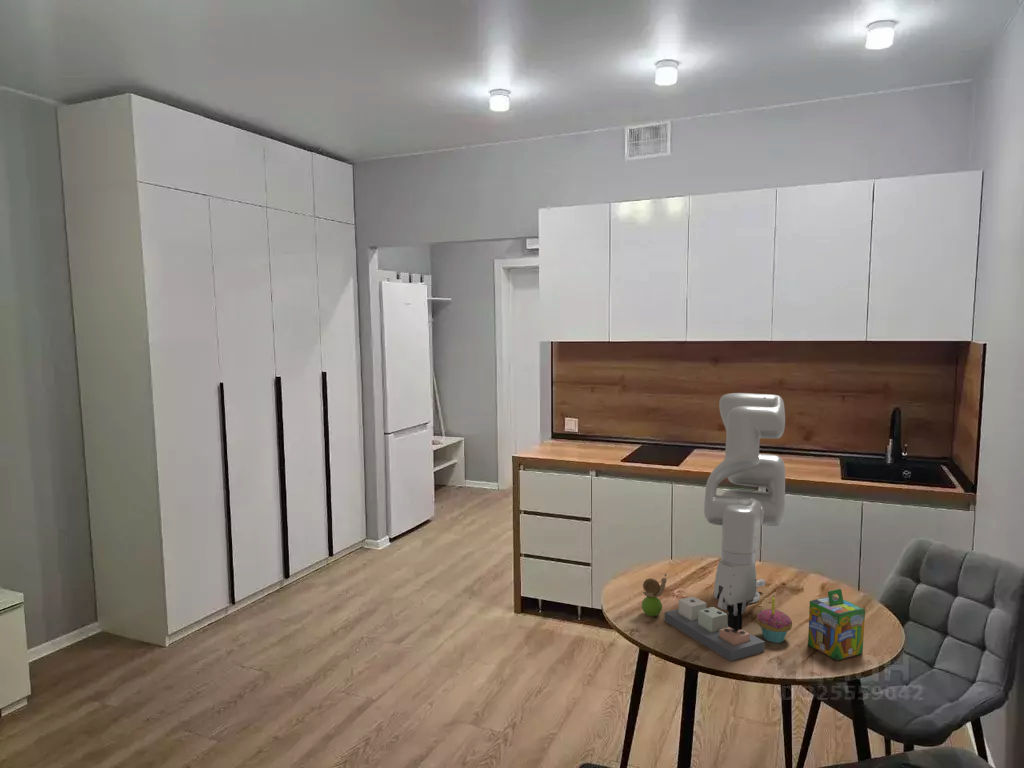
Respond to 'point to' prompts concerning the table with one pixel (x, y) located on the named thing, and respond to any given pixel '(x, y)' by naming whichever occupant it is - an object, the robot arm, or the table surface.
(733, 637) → the pink dice cube
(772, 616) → the cupcake
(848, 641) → the chalk box
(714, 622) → the two pip tile
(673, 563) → the table surface
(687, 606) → the one pip tile
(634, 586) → the table surface
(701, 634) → the button board
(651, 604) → the snail figurine
